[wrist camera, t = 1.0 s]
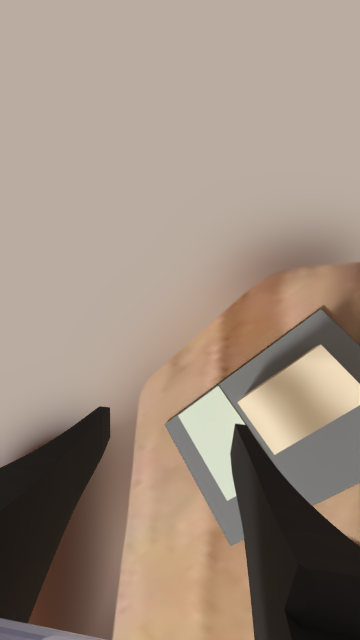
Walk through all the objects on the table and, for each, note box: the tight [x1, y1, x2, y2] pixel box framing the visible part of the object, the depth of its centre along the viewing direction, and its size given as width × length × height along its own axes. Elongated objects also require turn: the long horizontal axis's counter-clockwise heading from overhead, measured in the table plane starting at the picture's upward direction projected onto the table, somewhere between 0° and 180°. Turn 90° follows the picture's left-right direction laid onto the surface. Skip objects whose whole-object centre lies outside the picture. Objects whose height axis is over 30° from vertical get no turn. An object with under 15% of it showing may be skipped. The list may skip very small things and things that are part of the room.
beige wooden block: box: [237, 345, 360, 455], centre depth 18 cm, size 8×4×3 cm, turn 129°
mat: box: [164, 309, 360, 546], centre depth 20 cm, size 20×12×1 cm, turn 129°
